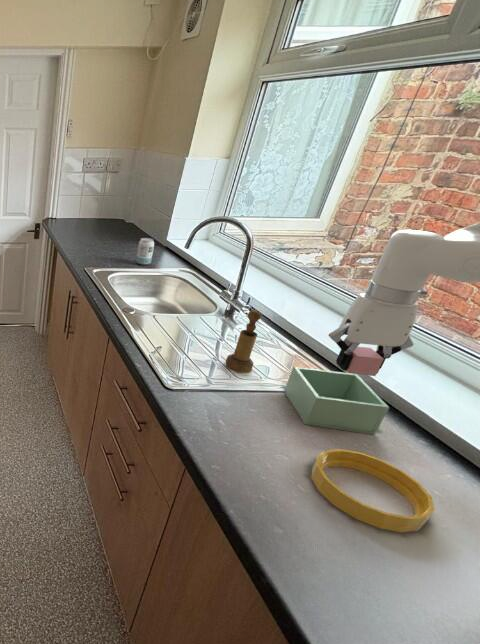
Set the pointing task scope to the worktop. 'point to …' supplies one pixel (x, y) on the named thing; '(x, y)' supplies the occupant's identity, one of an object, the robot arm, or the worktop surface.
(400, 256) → the robot arm
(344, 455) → the yellow bangle
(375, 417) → the bin
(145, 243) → the beverage can
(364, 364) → the pink toy cube
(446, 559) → the worktop surface
